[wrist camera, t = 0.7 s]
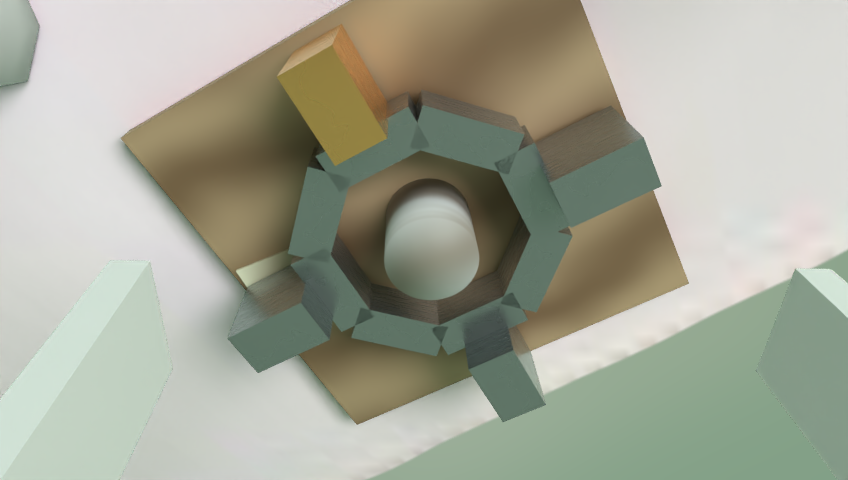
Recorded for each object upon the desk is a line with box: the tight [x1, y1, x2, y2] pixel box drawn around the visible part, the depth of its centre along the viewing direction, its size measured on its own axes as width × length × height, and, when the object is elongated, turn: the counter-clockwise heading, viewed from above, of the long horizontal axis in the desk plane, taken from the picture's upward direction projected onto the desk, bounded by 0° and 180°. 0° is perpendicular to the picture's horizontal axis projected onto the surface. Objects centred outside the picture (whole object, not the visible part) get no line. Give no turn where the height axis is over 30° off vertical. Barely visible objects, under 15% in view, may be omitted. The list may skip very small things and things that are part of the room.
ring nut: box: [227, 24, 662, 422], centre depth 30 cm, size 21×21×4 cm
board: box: [121, 0, 689, 425], centre depth 31 cm, size 22×22×6 cm
